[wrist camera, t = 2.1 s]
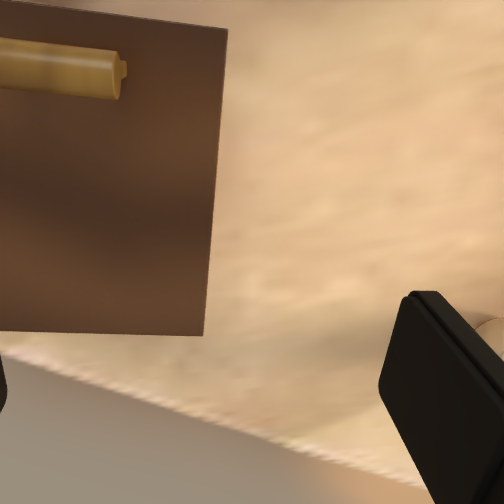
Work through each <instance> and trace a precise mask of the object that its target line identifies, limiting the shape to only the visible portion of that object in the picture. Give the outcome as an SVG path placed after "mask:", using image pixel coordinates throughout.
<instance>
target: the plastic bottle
mask: <svg viewBox="0 0 504 504" xmlns="http://www.w3.org/2000/svg"><path fill="white" fill-rule="evenodd" d="M475 331H476V332H477V333H478V334H479V336H480V337H481V338H482V339H483V340H484V341H485V342H486V343H487V344H488V345H489V346H490V347H491V348H492V349H493V350H494V351H495V353H496V354H497V355H498V356H499V357H500V358H501V359H502V360H503V361H504V318H497V319H492V320H490V321H487V322H485V323H483V324H482V325H480V326H479V327H478V328H477V329H476V330H475Z"/></svg>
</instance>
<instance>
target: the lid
mask: <svg viewBox="0 0 504 504" xmlns="http://www.w3.org/2000/svg"><path fill="white" fill-rule="evenodd" d="M227 39H228V29H224V28H217V27H209V26H201V25H194V24H186V23H179V22H171V21H163V20H156V19H148V18H141V17H133V16H126V15H118V14H110V13H103V12H95V11H88V10H80V9H72V8H65V7H57V6H50V5H42V4H35V3H27V2H19V1H12V0H0V331H19V332H57V333H95V334H133V335H171V336H203V332H204V320H205V308H206V296H207V284H208V271H209V259H210V247H211V235H212V222H213V210H214V198H215V186H216V173H217V161H218V149H219V137H220V125H221V112H222V100H223V88H224V76H225V63H226V51H227Z"/></svg>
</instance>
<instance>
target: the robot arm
mask: <svg viewBox="0 0 504 504" xmlns="http://www.w3.org/2000/svg"><path fill="white" fill-rule="evenodd" d="M378 388H379V394H380V396H381V399H382V401H383V402H384V404H385V406H386V408H387V410H388V412H389V414H390V416H391V418H392V420H393V422H394V424H395V426H396V428H397V430H398V432H399V434H400V436H401V438H402V440H403V442H404V444H405V446H406V448H407V450H408V452H409V454H410V455H411V457H412V459H413V461H414V463H415V465H416V467H417V469H418V471H419V473H420V475H421V477H422V479H423V481H424V483H425V485H426V487H427V489H428V491H429V493H430V495H431V497H432V499H433V501H434V503H435V504H504V361H503V360H502V359H501V358H500V357H499V356H498V355H497V354H496V353H495V351H494V350H493V349H492V348H491V347H490V346H489V345H488V344H487V343H486V342H485V341H484V340H483V339H482V338H481V337H480V336H479V334H478V333H477V332H476V331H475V330H474V329H473V328H472V327H471V326H470V325H469V324H468V323H467V322H466V321H465V320H464V319H463V317H462V316H461V315H460V314H459V313H458V312H457V311H456V310H455V309H454V308H453V307H452V306H451V305H450V304H449V303H448V302H447V300H446V299H445V298H444V297H443V296H442V295H441V294H440V293H439V292H437V291H412V292H410V294H409V295H408V296H406V297H404V298H403V299H402V301H401V304H400V307H399V311H398V315H397V318H396V322H395V325H394V329H393V332H392V336H391V339H390V343H389V346H388V350H387V353H386V357H385V361H384V364H383V368H382V371H381V375H380V378H379V383H378ZM6 398H7V384H6V379H5V375H4V370H3V366H2V361H1V356H0V412H1V411H2V409H3V407H4V405H5V402H6Z"/></svg>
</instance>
